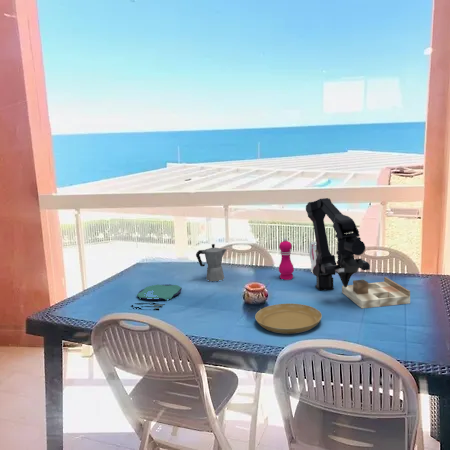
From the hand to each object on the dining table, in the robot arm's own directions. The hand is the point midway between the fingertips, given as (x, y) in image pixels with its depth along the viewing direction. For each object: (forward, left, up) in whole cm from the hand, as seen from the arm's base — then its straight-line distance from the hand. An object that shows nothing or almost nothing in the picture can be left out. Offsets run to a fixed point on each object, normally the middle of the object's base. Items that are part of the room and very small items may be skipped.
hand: (345, 287), depth 186 cm
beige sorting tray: (+13, 0, -6) cm, 14 cm away
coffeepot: (-49, +47, -6) cm, 68 cm away
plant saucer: (-28, -16, -6) cm, 33 cm away
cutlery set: (-78, +27, -6) cm, 83 cm away
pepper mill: (-14, +38, -6) cm, 41 cm away
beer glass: (+3, +43, -6) cm, 43 cm away
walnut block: (+7, 0, -3) cm, 7 cm away
